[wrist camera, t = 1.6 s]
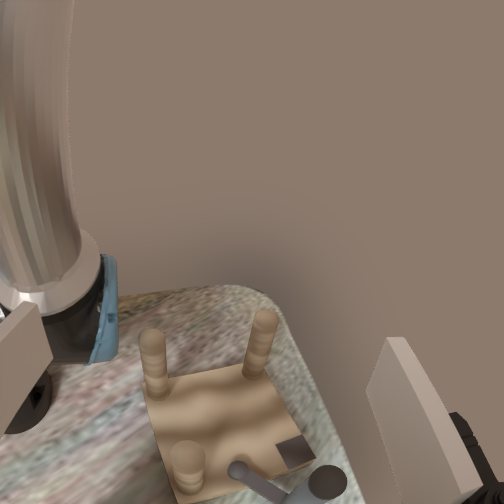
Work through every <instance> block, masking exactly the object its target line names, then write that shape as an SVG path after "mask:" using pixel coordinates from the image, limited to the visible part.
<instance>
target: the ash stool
mask: <svg viewBox="0 0 504 504" xmlns="http://www.w3.org/2000/svg"><path fill="white" fill-rule="evenodd" d="M278 322H279V318H278V316H277V314H276V313H274V312H273V311H270V310H259V311H258V312H256V314H255V317H254V321H253V325H252V330H251V334H250V338H249V343H248V347H247V351H246V355H245V360H244V363H240V364H236V365H232V366H227V367H223V368H218V369H214V370H209V371H204V372H199V373H194V374H189V375H184V376H178V377H173V378H168V375H167V361H166V344H165V335H164V334H163V332H162V331H160V330H158V329H155V328H149V329H145V330H143V331H142V332H141V333H140V334H139V337H138V341H139V347H140V354H141V360H142V366H143V372H144V378H145V382H142V383H141V385H142V390H143V394H144V398H145V402H146V406H147V410H148V413H149V417H150V421H151V424H152V428H153V431H154V435H155V438H156V441H157V444H158V448H159V451H160V454H161V457H162V460H163V463H164V466H165V469H166V472H167V475H168V478H169V481H170V484H171V486H172V489H173V492H174V494H175V497H176V500H177V502H178V504H192V503H197V502H201V501H205V500H209V499H212V498H216V497H220V496H223V495H227V494H230V493H234V492H237V491H240V490H243V489H246V488H249V487H247V486H246V485H244V484H243V483H242V482H240V481H239V480H234V479H232V478H231V477H230V476H229V475H228V467H229V465H230V464H231V463H232V462H234V461H243V462H245V463H246V464H247V465H248V467H249V469H250V470H252V471H253V472H254V473H256V474H257V475H259V476H261V477H262V478H264V479H265V480H267V481H270V480H272V479H275V478H278V477H280V476H283V475H285V474H288V473H290V472H293V471H295V470H298V469H300V468H302V467H305V466H307V465H309V464H311V463H312V462H313V461H314V460H315V459H316V457H315V455H314V453H313V452H312V450H311V448H310V447H309V445H308V443H307V442H306V440H305V438H304V437H303V435H302V434H301V432H300V431H299V429H298V427H297V425H296V424H295V422H294V420H293V419H292V417H291V415H290V413H289V412H288V410H287V408H286V407H285V405H284V403H283V401H282V400H281V398H280V396H279V394H278V392H277V391H276V389H275V387H274V385H273V384H272V382H271V380H270V378H269V377H268V375H267V373H266V371H265V369H264V367H265V364H266V361H267V357H268V354H269V351H270V348H271V345H272V342H273V338H274V335H275V332H276V329H277V325H278Z"/></svg>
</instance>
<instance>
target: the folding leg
mask: <svg viewBox="0 0 504 504" xmlns="http://www.w3.org/2000/svg"><path fill="white" fill-rule="evenodd" d="M228 475H229V476H230V477H231V478H232V479H234V480H239V481H240V482H242V483H243V484H244V485H246V486H247V487H249V488H250V489H252V490H253V491H255V492H257V493H258V494H260V495H261V496H263V497H264V498H266V499H267V500H269V501H271V502H272V503H274V504H324V503H326V502H327V501H329V500H331V499H334V498H336V497H338V496H340V495H341V494H342V493H343V492H344V491H345V489H346V487H347V477H346V475H345V473H344V472H343V471H342V470H341V469H340V468H338V467H336V466H333V465H324V466H321V467H319V468H317V469H316V470H315V471H314V472H313V473H312V474H311V475H310V477H308V478H307V479H306V480H305V481H304V482H303V483H301V484H300V485H299V486H298V487H297V488H296V489H294V490H293V491H292V492H291V493H289V494H288V493H286V492H284V491H283V490H281V489H279V488H278V487H276V486H275V485H273V484H271V483H270V482H268V481H267V480H265V479H264V478H262V477H261V476H259V475H257V474H256V473H254V472H253V471H252V470H250V469H249V467H248V465H247V464H246V463H245V462H243V461H234V462H232V463H231V464H230V465H229V467H228Z"/></svg>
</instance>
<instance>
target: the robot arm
mask: <svg viewBox="0 0 504 504" xmlns="http://www.w3.org/2000/svg"><path fill="white" fill-rule="evenodd" d="M74 2H75V0H0V439H1V437H2V436H3V434H17V433H21V432H24V431H26V430H28V429H30V428H32V427H33V426H35V425H36V424H37V423H38V422H39V421H40V420H41V419H42V418H43V416H44V415H45V413H46V412H47V410H48V407H49V405H50V402H51V397H52V383H51V379H50V376H49V374H48V372H47V370H46V368H47V366H48V365H65V364H84V365H91V364H92V363H99V362H107V361H110V360H112V359H113V358H114V357H115V356H116V355H117V353H118V347H119V332H118V317H117V315H118V291H117V290H118V289H117V288H118V287H117V263H116V260H115V258H114V257H112V256H108V255H105V254H100V252H99V249H98V246H97V243H96V242H95V240H94V239H93V238H92V237H91V235H89V234H88V233H87V232H86V231H84V230H83V229H81V228H79V222H78V215H77V209H76V201H75V193H74V185H73V176H72V165H71V154H70V138H69V116H68V115H69V113H68V76H69V53H70V38H71V27H72V17H73V10H74ZM365 392H366V395H367V397H368V400H369V403H370V406H371V409H372V411H373V414H374V417H375V420H376V423H377V426H378V429H379V432H380V435H381V438H382V441H383V444H384V447H385V450H386V453H387V456H388V459H389V462H390V466H391V468H392V472H393V475H394V478H395V482H396V485H397V488H398V492H399V495H400V498H401V502H402V504H504V482H498V480H497V479H496V477H495V475H494V473H493V471H492V469H491V468H490V465H489V463H488V461H487V459H486V457H485V455H484V453H483V451H482V449H481V447H480V446H478V442H477V440H476V438H475V436H473V432H472V430H471V429H470V427H469V425H468V423H467V421H465V420H464V419H463V418H462V417H461V416H460V415H459V414H458V413H457V412H454V413H449V414H448V413H447V410H446V409H445V407H444V405H443V403H442V401H441V400H440V398H439V396H438V394H437V392H436V390H435V389H434V387H433V385H432V383H431V382H430V380H429V378H428V376H427V375H426V373H425V371H424V370H423V368H422V366H421V364H420V363H419V361H418V359H417V358H416V356H415V354H414V353H413V351H412V349H411V348H410V346H409V344H408V343H407V341H406V339H405V338H404V337H386V339H385V342H384V345H383V347H382V350H381V353H380V355H379V358H378V361H377V364H376V366H375V368H374V371H373V373H372V376H371V378H370V380H369V383H368V385H367V387H366V390H365Z"/></svg>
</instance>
